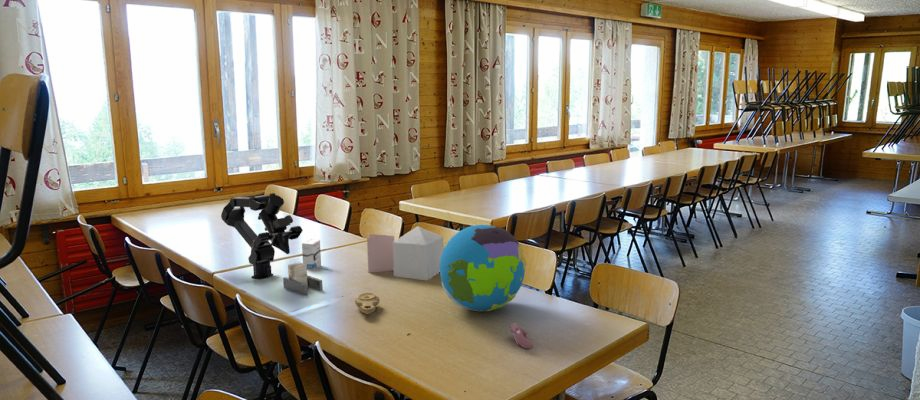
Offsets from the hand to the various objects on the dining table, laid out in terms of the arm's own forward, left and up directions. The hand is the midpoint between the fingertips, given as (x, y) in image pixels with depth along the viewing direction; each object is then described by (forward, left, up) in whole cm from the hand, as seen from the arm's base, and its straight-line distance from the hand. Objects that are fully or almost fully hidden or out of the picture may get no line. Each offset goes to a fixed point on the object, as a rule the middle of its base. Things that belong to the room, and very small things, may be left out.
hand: (288, 253), depth 238 cm
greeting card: (+23, +31, -14) cm, 41 cm away
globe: (+79, +3, -14) cm, 80 cm away
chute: (+8, -3, -14) cm, 16 cm away
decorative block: (+40, +34, -14) cm, 54 cm away
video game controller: (+99, -20, -14) cm, 102 cm away
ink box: (-7, +25, -14) cm, 29 cm away
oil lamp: (+42, -12, -14) cm, 46 cm away
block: (+5, -2, -12) cm, 14 cm away
